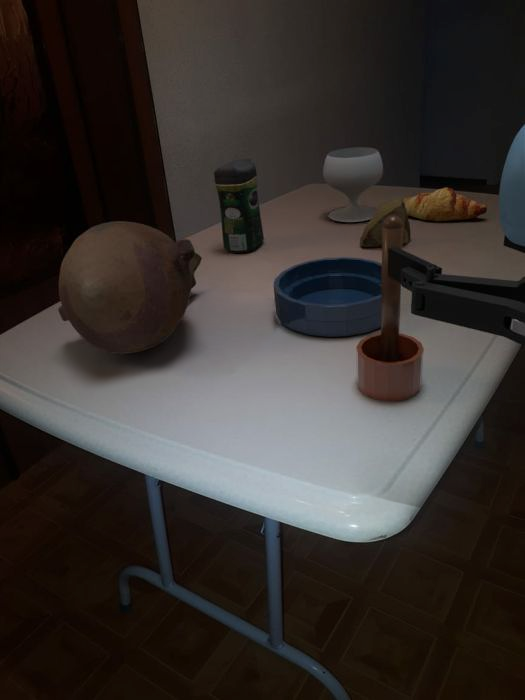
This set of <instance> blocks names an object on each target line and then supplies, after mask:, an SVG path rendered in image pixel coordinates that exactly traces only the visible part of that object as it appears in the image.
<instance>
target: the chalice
mask: <svg viewBox="0 0 525 700" xmlns="http://www.w3.org/2000/svg"><path fill="white" fill-rule="evenodd" d="M322 169H323V170H322V176H323V180H324V182H325V183H326V184H327V185H328V186H329V187H331V188H332V189H334V190H337V191H339V192H340V193H343V194H344V195H345V196H346V197H347V198H348V200H349V201H348V202H349V204H348V206H346V207H340V208H337V209H334V210H332V211H331V212H330V213H329V214H327V215H328V218H329V219H330V220H332V221H336V222H342V223H357V222H365V221H370V220H371V219H372V217H373V215H374V214H375V213H376V211H377V209H375V208H373V207H369V206H359V205H358V199H359V197H360V196H361V194H362V193H364V191H367V190H368V189H370V188H371V187H373V186H375V185H376V184H377V183H378V182H380V180H381V179H382V176H383V174H384V165H383V159H382V156H381V153H380V152H379V150H378V149H376V148H373V147H365V146H363V147H362V146H361V147H347V148H339V149H336V150H332V151H329V152H327V155H326V157H325V159H324V164H323V168H322Z"/></svg>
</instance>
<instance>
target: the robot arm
mask: <svg viewBox="0 0 525 700" xmlns="http://www.w3.org/2000/svg"><path fill="white" fill-rule="evenodd" d="M502 169H503V170H502V174H501V179H500V184H499V192H498V216H499V224H500V228H501V230H502V233H503V234H504V237H503V244H502V246H503V247H506V248H509V249H512V250H514V251H517V252H520V253H522V254H525V124H523V126H522V127H521V128H520V130H519V131H518V132H517V133H516V135H515V137H514V139H513V140H512V144H511V146H510V147H509V150H508V153H507V156H506V159H505V162H504V166H503V168H502ZM388 277H390V278H392V279H394V280H396V281H397V282H399V283H401V288H403V289H406V290H407V291H409V292H411V301H410V303H411V304H410V313H411V314H412V315H414V316H417V317H421V318H424V319H425V318H426V319H430V320H434V321H438V322H442V323H446V324H451V325H454V326H459V327H462V328H466V329H471V330H474V331H479V332H482V333H486V334H491V335H496V336H499V337H503V338H506V339H508V340H510V341H512V342H515V343H516V344H519V345H521V346H523V347H525V275H524V276H522V278H520V279H519V280H512V279H511V280H510V279H500V278H491V277H490V278H488V277H478V276H468V275H467V276H466V275H455V274H445V273H443V268H442V267H441V266H438V265H437V264H434V263H432V262H429V261H427V260H425V259H423V258H421V257H419V256H417V255H415V254H413V253H411V252H408V251H406V250H404V249H403V248H402V249H400V248H398V247H391V248H388Z"/></svg>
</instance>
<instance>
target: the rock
mask: <svg viewBox="0 0 525 700" xmlns="http://www.w3.org/2000/svg"><path fill="white" fill-rule="evenodd" d="M403 200H404V199H403V198H400V199H399V198H392V199H389V200H388V201H385V202H384V203H382V204H380V205H379V206H378V207H377V209H376V210H377V211H376V213H375V214H374V215H373V217H372V219H369V221H368V222H367V223H366V224H365V226H364V229H363V232H362V234H361V236H360V241H359V245H360V247H361V248H375V247H377V248H378V247H382V225H383V222H384V220H385V219H386V218H387V217H389V216H398V217H399V218H400V219H401V220H402V223H403V238H402V245H406V244H408V243H409V242H411V238H412V237H411V224H410V221H409V216H408V215H407V211H406V208H405V204H404V201H403Z"/></svg>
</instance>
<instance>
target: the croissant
mask: <svg viewBox="0 0 525 700" xmlns="http://www.w3.org/2000/svg"><path fill="white" fill-rule="evenodd" d="M403 201H404V204H405V208H406V211H407V216H408V217H412V218H415V219H418V220H423V221H430V222H431V221H432V222H446V221H465V220H470V219H471V220H472V219H475V218H478V217H480V216H481V215H484V214H486V213H487V210H488V206H487V205H486V204H480V203H479V202H478V201H476V200H473V199H471V200H469V199H468V198H466V196H465V195H462V194H460V193H459V194H458V193H457V192H456V191H455V190H454V189H453V188H450V187H448V186H447V187H442V188H438V189H437V190H435V191H434V192H422V193H419V194H417V195H416V196H410V197H406V198H405V199H403Z"/></svg>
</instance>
